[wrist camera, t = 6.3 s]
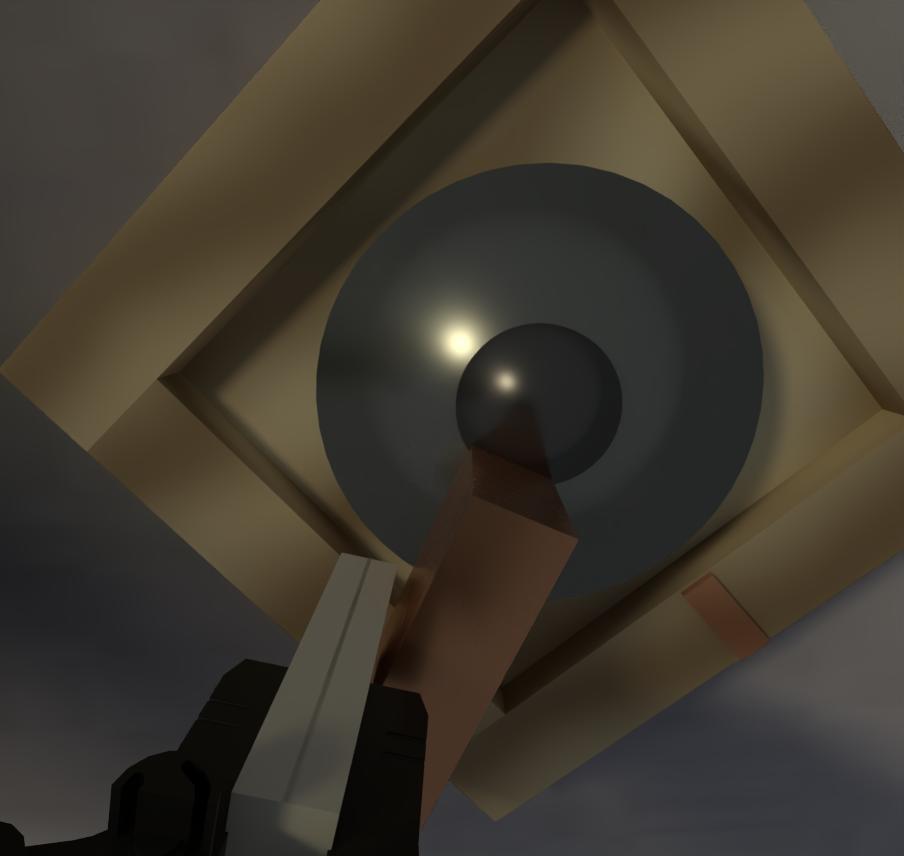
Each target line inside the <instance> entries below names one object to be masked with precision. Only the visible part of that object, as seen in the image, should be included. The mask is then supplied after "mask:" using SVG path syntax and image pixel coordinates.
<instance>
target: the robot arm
mask: <svg viewBox="0 0 904 856" xmlns="http://www.w3.org/2000/svg"><path fill="white" fill-rule="evenodd" d="M397 566H398V565H397V564H392V563H387V562H383V561H378V560H374V559H369V558H365V557H360V556H356V555H351V554H346V553H341V555H340V557H339V559H338V561H337V564H336V566H335V568H334V570H333V572H332V575H331V577H330V579H329V581H328V583H327V585H326V588H325V590H324V592H323V594H322V596H321V598H320V601H319V603H318V605H317V607H316V609H315V612H314V614H313V616H312V618H311V620H310V622H309V625H308V627H307V629H306V631H305V633H304V635H303V638H302V640H301V642H300V644H299V646H298V649H297V651H296V653H295V655H294V657H293V659H292V662H291V664H290V666H289V668H288V667H283V666H278V665H274V664H269V663H264V662H259V661H254V660H250V659H245V660H243V661H242V662H241V663H239V664H238V665H237V666H235V667H234V668H233V669H231V670H230V671H229V672H227V673H226V674H225V675H224V676H223V677H222V679H221V680H220V682H219V684H218V685H217V687H216V688H215V690H214V692H213V693H212V695H211V697H210V700H209V702H208V701H207V703H206V705H205V706H204V708H203V709H202V711H201V713H200V714H199V717H198V719H197V720H196V721H195V722H194V724H193V726H192V727H191V729H190V730H189V732H188V734H187V735H186V737H185V739H184V740H183V742H182V743H181V745H180V747H179V748H178V750H177V751H167V752H163V753H160V754H156V755H152V756H148V757H147V758H145V759H143V760H141V761H140V762H138V763H136V764H134V765H133V766H131V767H129V768H128V769H127V770H126V771H125V772H124V773H123V774H122V775H121V776H120V777H119V778H118V779H117V780H116V781H115V782H114V783H113V784H112V787H111V799H110V810H109V822H108V830H105V831H103V832H101V833H98V834H96V835H94V836H90V837H86V838H81V839H77V840H72V841H64V842H57V843H49V844H42V845H34V846H27V847H25V843H24V836H23V835H22V834H21V833H20V832H19V831H18V830H17V829H16V828H15V827H14V826H13V825H12V824H9V823H5V822H1V821H0V856H419V847H418V842H419V830H420V817H421V805H422V792H423V779H424V767H425V765H424V762H425V754H426V740H427V729H428V716H429V715H428V713H427V710H426V708H425V705H424V703H423V700H422V698H421V695H420V693H416V692H412V691H407V690H402V689H397V688H392V687H387V686H383V685H378V684H373V683H371V680H372V675H373V671H374V667H375V662H376V658H377V654H378V649H379V645H380V640H381V636H382V632H383V627H384V623H385V618H386V614H387V610H388V605H389V601H390V596H391V592H392V588H393V583H394V579H395V574H396V570H397Z"/></svg>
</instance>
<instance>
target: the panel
mask: <svg viewBox="0 0 904 856" xmlns="http://www.w3.org/2000/svg"><path fill="white" fill-rule="evenodd" d="M535 163H562V164H574V165H584V166H588V167H592V168H597V169H601V170H605V171H610V172H614V173H617V174H619V175H622V176H624V177H627V178H629V179H632V180H635V181H637V182H640V183H642V184H644V185H646V186H648V187H650V188H651V189H653V190H655V191H657V192H658V193H660V194H662V195H664V196H665V197H667V198H669V199H671V200H672V201H673V202H675V203H676V204H677V205H678V206H680V207H681V208H682V209H684V210H685V211H686V212H687V213H689V214H690V215H691V216H692V217H694V218H695V219H696V220H697V221H698V222H699V223H700V224H701V225H702V226H703V227H704V228H705V229H706V230H707V232H708V233H709V234H710V235H711V236H712V237H713V238H714V239H715V240H716V241H717V242H718V244H719V245H720V247H721V248H722V249H723V251H724V252H725V254H726V255H727V257H728V258H729V259H730V261H731V262H732V264H733V265H734V267H735V269H736V271H737V273H738V275H739V277H740V279H741V281H742V283H743V285H744V287H745V289H746V291H747V293H748V295H749V298H750V301H751V304H752V307H753V310H754V313H755V316H756V319H757V322H758V328H759V333H760V339H761V344H762V350H763V371H764V384H763V395H762V405H761V412H760V416H759V420H758V425H757V429H756V433H755V438H754V440H753V443H752V446H751V448H750V451H749V454H748V456H747V459H746V462H745V464H744V466H743V468H742V470H741V472H740V474H739V476H738V478H737V479H736V481H735V483H734V485H733V487H732V489H731V491H730V492H729V493H728V495H727V496H726V498H725V499H724V501H723V502H722V503H721V505H720V506H719V508H718V509H717V511H716V512H715V513H714V514H713V515H712V517H711V518H710V519H709V520H708V521H707V522H706V523H705V524H704V526H703V527H702V528H701V529H700V530H699V531H698V532H697V533H696V534H695V535H694V536H693V537H692V538H691V539H690V540H688V541H687V542H686V543H685V544H684V545H683V546H682V547H680V548H679V549H678V550H677V551H676V552H674V553H673V554H672V555H670V556H669V557H667V558H666V559H664V560H663V561H661V562H660V563H659V564H657V565H656V566H654V567H653V568H651V569H649V570H647V571H645V572H643V573H641V574H639V575H638V576H636V577H634V578H632V579H630V580H628V581H625V582H623V583H620V584H618V585H615V586H613V587H610V588H607V589H605V590H601V591H598V592H594V593H590V594H586V595H583V596H579V597H572V598H566V599H559V600H551V601H545V603H544V605H543V607H542V608H541V610H540V612H539V614H538V616H537V618H536V619H535V621H534V623H533V625H532V627H531V629H530V630H529V632H528V634H527V636H526V638H525V640H524V642H523V643H522V645H521V647H520V649H519V651H518V653H517V654H516V656H515V658H514V660H513V662H512V664H511V665H510V667H509V669H508V671H507V673H506V675H505V676H504V678H503V680H502V682H501V684H500V686H499V688H498V689H497V691H496V693H495V695H494V697H493V699H492V700H491V702H490V704H489V706H488V708H487V710H486V711H485V713H484V715H483V717H482V719H481V721H480V722H479V724H478V726H477V728H476V730H475V732H474V734H473V735H472V737H471V739H470V741H469V743H468V745H467V746H466V748H465V750H464V752H463V754H462V756H461V757H460V759H459V761H458V763H457V765H456V767H455V768H454V770H453V772H452V774H451V776H450V778H449V781H450V782H451V783H453V784H454V785H455V786H456V787H457V788H458V789H459V790H460V791H461V792H462V793H464V794H465V795H466V796H467V797H468V798H469V799H470V800H471V801H472V802H473V803H475V804H476V805H477V806H478V807H479V808H480V809H481V810H482V811H483V812H485V813H486V814H487V815H488V816H489V817H490V818H491V819H492V820H493V821H494V822H497V821H498V820H500V819H501V818H503V817H504V816H506V815H507V814H509V813H510V812H512V811H513V810H515V809H516V808H518V807H519V806H521V805H522V804H524V803H525V802H527V801H528V800H530V799H531V798H533V797H534V796H536V795H537V794H539V793H540V792H542V791H543V790H545V789H546V788H548V787H549V786H551V785H552V784H554V783H555V782H557V781H558V780H560V779H561V778H563V777H564V776H566V775H567V774H569V773H570V772H572V771H573V770H575V769H576V768H578V767H579V766H581V765H582V764H584V763H585V762H587V761H588V760H590V759H591V758H593V757H594V756H595V755H597V754H598V753H600V752H601V751H603V750H604V749H606V748H607V747H609V746H610V745H612V744H613V743H615V742H616V741H618V740H619V739H621V738H622V737H624V736H625V735H627V734H628V733H630V732H631V731H633V730H634V729H636V728H637V727H639V726H640V725H642V724H643V723H645V722H646V721H648V720H649V719H651V718H652V717H654V716H655V715H657V714H658V713H660V712H661V711H663V710H664V709H666V708H667V707H669V706H670V705H672V704H673V703H675V702H676V701H678V700H679V699H681V698H682V697H684V696H685V695H687V694H688V693H690V692H691V691H693V690H694V689H696V688H697V687H699V686H700V685H702V684H703V683H705V682H706V681H708V680H709V679H711V678H712V677H714V676H715V675H717V674H718V673H719V672H721V671H722V670H724V669H725V668H727V667H728V666H730V665H731V664H733V663H734V662H736V661H737V660H739V659H740V660H741V661H742V660H744V659H745V658H747V657H748V656H750V655H751V654H753V653H754V652H756V651H757V650H759V649H760V648H762V647H763V646H765V645H766V644H768V643H769V642H771V641H770V640H769V639H770V638H772V637H773V636H775V635H776V634H778V633H779V632H781V631H782V630H784V629H785V628H787V627H788V626H790V625H791V624H793V623H794V622H796V621H797V620H799V619H800V618H802V617H803V616H805V615H806V614H808V613H809V612H811V611H812V610H814V609H815V608H817V607H818V606H820V605H821V604H823V603H824V602H826V601H827V600H829V599H830V598H832V597H833V596H835V595H836V594H838V593H839V592H840V591H842V590H843V589H845V588H846V587H848V586H849V585H851V584H852V583H854V582H855V581H857V580H858V579H860V578H861V577H863V576H864V575H866V574H867V573H869V572H870V571H872V570H873V569H875V568H876V567H878V566H879V565H881V564H882V563H884V562H885V561H887V560H888V559H890V558H891V557H893V556H894V555H896V554H897V553H899V552H900V551H902V550H903V549H904V153H903V151H902V150H901V148H900V147H899V145H898V144H897V142H896V141H895V139H894V138H893V136H892V134H891V133H890V131H889V130H888V128H887V127H886V125H885V124H884V122H883V121H882V119H881V118H880V116H879V115H878V113H877V112H876V110H875V108H874V107H873V105H872V104H871V102H870V101H869V99H868V98H867V96H866V95H865V93H864V92H863V90H862V89H861V87H860V86H859V84H858V83H857V81H856V79H855V78H854V76H853V75H852V73H851V72H850V70H849V69H848V67H847V66H846V64H845V63H844V61H843V60H842V58H841V57H840V55H839V53H838V52H837V50H836V49H835V47H834V46H833V44H832V43H831V41H830V40H829V38H828V37H827V35H826V34H825V32H824V31H823V29H822V27H821V26H820V24H819V23H818V21H817V20H816V18H815V17H814V15H813V14H812V12H811V11H810V9H809V8H808V6H807V5H806V3H805V2H804V0H321V1H320V2H319V3H318V4H317V5H316V6H315V7H314V9H313V10H312V11H311V12H310V13H309V14H308V15H307V17H306V18H305V19H304V20H303V21H302V22H301V23H300V25H299V26H298V27H297V28H296V29H295V30H294V31H293V33H292V34H291V35H290V36H289V37H288V38H287V39H286V41H285V42H284V43H283V44H282V45H281V46H280V47H279V49H278V50H277V51H276V52H275V53H274V54H273V55H272V57H271V58H270V59H269V60H268V61H267V62H266V63H265V65H264V66H263V67H262V68H261V69H260V70H259V71H258V73H257V74H256V75H255V76H254V77H253V78H252V80H251V81H250V82H249V83H248V84H247V85H246V86H245V88H244V89H243V90H242V91H241V92H240V93H239V94H238V96H237V97H236V98H235V99H234V100H233V101H232V102H231V104H230V105H229V106H228V107H227V108H226V109H225V110H224V112H223V113H222V114H221V115H220V116H219V117H218V118H217V120H216V121H215V122H214V123H213V124H212V125H211V126H210V128H209V129H208V130H207V131H206V132H205V133H204V134H203V136H202V137H201V138H200V139H199V140H198V141H197V142H196V144H195V145H194V146H193V147H192V148H191V149H190V150H189V152H188V153H187V154H186V155H185V156H184V157H183V158H182V160H181V161H180V162H179V163H178V164H177V165H176V167H175V168H174V169H173V170H172V171H171V172H170V173H169V175H168V176H167V177H166V178H165V179H164V180H163V181H162V183H161V184H160V185H159V186H158V187H157V188H156V189H155V191H154V192H153V193H152V194H151V195H150V196H149V197H148V199H147V200H146V201H145V202H144V203H143V204H142V205H141V207H140V208H139V209H138V210H137V211H136V212H135V213H134V215H133V216H132V217H131V218H130V219H129V220H128V221H127V223H126V224H125V225H124V226H123V227H122V228H121V229H120V231H119V232H118V233H117V234H116V235H115V236H114V237H113V239H112V240H111V241H110V242H109V243H108V244H107V245H106V247H105V248H104V249H103V250H102V251H101V252H100V253H99V255H98V256H97V257H96V258H95V259H94V260H93V262H92V263H91V264H90V265H89V266H88V267H87V268H86V270H85V271H84V272H83V273H82V274H81V275H80V276H79V278H78V279H77V280H76V281H75V282H74V283H73V284H72V286H71V287H70V288H69V289H68V290H67V291H66V292H65V294H64V295H63V296H62V297H61V298H60V299H59V300H58V302H57V303H56V304H55V305H54V306H53V307H52V308H51V310H50V311H49V312H48V313H47V314H46V315H45V316H44V318H43V319H42V320H41V321H40V322H39V323H38V324H37V326H36V327H35V328H34V329H33V330H32V331H31V332H30V334H29V335H28V336H27V337H26V338H25V339H24V340H23V342H22V343H21V344H20V345H19V346H18V347H17V349H16V350H15V351H14V352H13V353H12V354H11V355H10V357H9V358H8V359H7V360H6V361H5V362H4V363H3V365H2V366H1V367H0V373H1V374H2V375H3V376H4V377H5V378H6V379H7V380H8V381H9V382H11V383H12V384H13V385H14V386H15V387H16V388H17V389H18V390H19V391H20V392H22V393H23V394H24V395H25V396H26V397H27V398H28V399H29V400H30V401H31V402H33V403H34V404H35V405H36V406H37V407H38V408H39V409H40V410H41V411H43V412H44V413H45V414H46V415H47V416H48V417H49V418H50V419H51V420H52V421H54V422H55V423H56V424H57V425H58V426H59V427H60V428H61V429H62V430H63V431H65V432H66V433H67V434H68V435H69V436H70V437H71V438H72V439H73V440H74V441H76V442H77V443H78V444H79V445H80V446H81V447H82V448H83V449H84V450H85V451H87V452H88V453H89V454H90V455H91V456H92V457H93V458H94V459H95V460H97V461H98V462H99V463H100V464H101V465H102V466H103V467H104V468H105V469H106V470H108V471H109V472H110V473H111V474H112V475H113V476H114V477H115V478H116V479H117V480H119V481H120V482H121V483H122V484H123V485H124V486H125V487H126V488H127V489H128V490H130V491H131V492H132V493H133V494H134V495H135V496H136V497H137V498H138V499H140V500H141V501H142V502H143V503H144V504H145V505H146V506H147V507H148V508H149V509H151V510H152V511H153V512H154V513H155V514H156V515H157V516H158V517H159V518H160V519H162V520H163V521H164V522H165V523H166V524H167V525H168V526H169V527H170V528H171V529H173V530H174V531H175V532H176V533H177V534H178V535H179V536H180V537H181V538H182V539H184V540H185V541H186V542H187V543H188V544H189V545H190V546H191V547H192V548H194V549H195V550H196V551H197V552H198V553H199V554H200V555H201V556H202V557H203V558H205V559H206V560H207V561H208V562H209V563H210V564H211V565H212V566H213V567H214V568H216V569H217V570H218V571H219V572H220V573H221V574H222V575H223V576H224V577H225V578H227V579H228V580H229V581H230V582H231V583H232V584H233V585H234V586H235V587H236V588H238V589H239V590H240V591H241V592H242V593H243V594H244V595H245V596H246V597H248V598H249V599H250V600H251V601H252V602H253V603H254V604H255V605H256V606H257V607H259V608H260V609H261V610H262V611H263V612H264V613H265V614H266V615H267V616H268V617H270V618H271V619H272V620H273V621H274V622H275V623H276V624H277V625H278V626H279V627H281V628H282V629H283V630H284V631H285V632H286V633H287V634H288V635H289V636H291V637H292V638H293V639H294V640H295V641H296V642H297V643H298V644H300V642H301V640H302V638H303V635H304V633H305V631H306V629H307V627H308V625H309V622H310V620H311V618H312V616H313V614H314V612H315V609H316V607H317V605H318V603H319V601H320V598H321V596H322V594H323V592H324V590H325V588H326V585H327V583H328V581H329V579H330V577H331V575H332V572H333V570H334V568H335V566H336V564H337V561H338V559H339V557H340V555H341V553H346V554H351V555H356V556H360V557H365V558H369V559H374V560H378V561H383V562H387V563H392V564H397V565H398V566H397V570H396V574H395V579H394V583H393V588H392V592H391V596H390V601H389V605H388V610H387V614H386V618H385V623H384V627H383V632H384V629H385V627H386V625H387V623H388V621H389V619H390V616H391V614H392V612H393V610H394V608H395V606H396V603H397V601H398V599H399V597H400V595H401V592H402V590H403V588H404V586H405V584H406V582H407V579H408V577H409V575H410V573H411V571H412V569H413V566H411V565H410V564H408V563H407V562H405V561H403V560H402V559H401V558H400V557H398V556H397V555H396V554H395V553H394V552H392V551H391V550H390V549H389V548H387V547H386V546H385V545H384V544H383V543H382V542H381V541H380V540H379V539H378V538H377V537H376V536H375V535H374V534H373V533H372V532H371V531H370V530H369V529H368V528H367V527H366V526H365V524H364V523H363V522H362V520H361V519H360V518H359V516H358V515H357V514H356V512H355V511H354V510H353V508H352V507H351V505H350V504H349V503H348V501H347V499H346V497H345V495H344V494H343V492H342V490H341V488H340V486H339V485H338V483H337V481H336V479H335V476H334V474H333V471H332V469H331V466H330V464H329V461H328V459H327V456H326V453H325V449H324V445H323V441H322V437H321V433H320V429H319V422H318V413H317V404H316V372H317V365H318V359H319V352H320V345H321V341H322V337H323V334H324V330H325V327H326V324H327V320H328V317H329V314H330V312H331V309H332V307H333V305H334V302H335V300H336V298H337V296H338V293H339V291H340V289H341V287H342V285H343V284H344V282H345V280H346V279H347V277H348V275H349V274H350V272H351V270H352V269H353V267H354V266H355V264H356V262H357V261H358V260H359V258H360V257H361V256H362V255H363V253H364V252H365V251H366V250H367V249H368V247H369V246H370V245H371V244H372V242H373V241H374V240H375V239H376V238H377V236H379V235H380V234H381V233H382V232H383V231H384V230H385V229H386V228H387V227H388V226H389V225H390V224H391V223H392V222H394V221H395V220H396V219H397V218H398V217H399V216H400V215H401V214H403V213H404V212H406V211H407V210H408V209H410V208H411V207H413V206H414V205H415V204H417V203H418V202H420V201H421V200H423V199H424V198H425V197H427V196H429V195H431V194H433V193H435V192H437V191H438V190H440V189H442V188H444V187H446V186H448V185H450V184H452V183H454V182H456V181H459V180H462V179H465V178H467V177H470V176H473V175H476V174H479V173H482V172H484V171H488V170H493V169H498V168H503V167H508V166H513V165H518V164H535ZM383 632H382V634H383Z"/></svg>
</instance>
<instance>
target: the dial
mask: <svg viewBox="0 0 904 856" xmlns="http://www.w3.org/2000/svg"><path fill="white" fill-rule="evenodd" d="M763 384H764V371H763V350H762V344H761V339H760V333H759V328H758V322H757V319H756V316H755V313H754V310H753V307H752V304H751V301H750V298H749V295H748V293H747V291H746V289H745V287H744V285H743V283H742V281H741V279H740V277H739V275H738V273H737V271H736V269H735V267H734V265H733V264H732V262H731V261H730V259H729V258H728V257H727V255H726V254H725V252H724V251H723V249H722V248H721V247H720V245H719V244H718V242H717V241H716V240H715V239H714V238H713V237H712V236H711V235H710V234H709V233H708V232H707V230H706V229H705V228H704V227H703V226H702V225H701V224H700V223H699V222H698V221H697V220H696V219H695V218H694V217H692V216H691V215H690V214H689V213H687V212H686V211H685V210H684V209H682V208H681V207H680V206H678V205H677V204H676V203H675V202H673V201H672V200H671V199H669V198H667V197H665V196H664V195H662V194H660V193H658V192H657V191H655V190H653V189H651V188H650V187H648V186H646V185H644V184H642V183H640V182H637V181H635V180H632V179H629V178H627V177H624V176H622V175H619V174H617V173H614V172H610V171H605V170H601V169H597V168H592V167H588V166H584V165H574V164H562V163H535V164H518V165H513V166H508V167H503V168H498V169H493V170H488V171H484V172H482V173H479V174H476V175H473V176H470V177H467V178H465V179H462V180H459V181H456V182H454V183H452V184H450V185H448V186H446V187H444V188H442V189H440V190H438V191H437V192H435V193H433V194H431V195H429V196H427V197H425V198H424V199H423V200H421V201H420V202H418V203H417V204H415V205H414V206H413V207H411V208H410V209H408V210H407V211H406V212H404V213H403V214H401V215H400V216H399V217H398V218H397V219H396V220H395V221H394V222H392V223H391V224H390V225H389V226H388V227H387V228H386V229H385V230H384V231H383V232H382V233H381V234H380V235H379V236H377V238H376V239H375V240H374V241H373V242H372V244H371V245H370V246H369V247H368V249H367V250H366V251H365V252H364V253H363V255H362V256H361V257H360V258H359V260H358V261H357V262H356V264H355V266H354V267H353V269H352V270H351V272H350V274H349V275H348V277H347V279H346V280H345V282H344V284H343V285H342V287H341V289H340V291H339V293H338V296H337V298H336V300H335V302H334V305H333V307H332V309H331V312H330V314H329V317H328V320H327V324H326V327H325V330H324V334H323V337H322V341H321V345H320V352H319V359H318V365H317V372H316V404H317V413H318V422H319V429H320V433H321V437H322V441H323V445H324V449H325V453H326V456H327V459H328V461H329V464H330V466H331V469H332V471H333V474H334V476H335V479H336V481H337V483H338V485H339V486H340V488H341V490H342V492H343V494H344V495H345V497H346V499H347V501H348V503H349V504H350V505H351V507H352V508H353V510H354V511H355V512H356V514H357V515H358V516H359V518H360V519H361V520H362V522H363V523H364V524H365V526H366V527H367V528H368V529H369V530H370V531H371V532H372V533H373V534H374V535H375V536H376V537H377V538H378V539H379V540H380V541H381V542H382V543H383V544H384V545H385V546H386V547H387V548H389V549H390V550H391V551H392V552H394V553H395V554H396V555H397V556H398V557H400V558H401V559H402V560H403V561H405V562H407V563H408V564H410V565H411V566H413V569H412V571H411V573H410V575H409V577H408V579H407V582H406V584H405V586H404V588H403V590H402V592H401V595H400V597H399V599H398V601H397V603H396V606H395V608H394V610H393V612H392V614H391V616H390V619H389V621H388V623H387V625H386V627H385V629H384V632H383V634H382V636H381V640H380V645H379V649H378V654H377V658H376V662H375V667H374V671H373V675H372V680H371V683H373V684H378V685H383V686H387V687H392V688H397V689H402V690H407V691H412V692H416V693H420V695H421V698H422V700H423V703H424V705H425V708H426V710H427V713H428V715H429V716H428V729H427V740H426V754H425V762H424V765H425V767H424V779H423V792H422V805H421V817H420V830H419V833H420V831H421V829H422V827H423V826H424V824H425V822H426V820H427V818H428V816H429V814H430V813H431V811H432V809H433V807H434V805H435V803H436V802H437V800H438V798H439V796H440V794H441V792H442V791H443V789H444V787H445V785H446V783H447V781H448V780H449V778H450V776H451V774H452V772H453V770H454V768H455V767H456V765H457V763H458V761H459V759H460V757H461V756H462V754H463V752H464V750H465V748H466V746H467V745H468V743H469V741H470V739H471V737H472V735H473V734H474V732H475V730H476V728H477V726H478V724H479V722H480V721H481V719H482V717H483V715H484V713H485V711H486V710H487V708H488V706H489V704H490V702H491V700H492V699H493V697H494V695H495V693H496V691H497V689H498V688H499V686H500V684H501V682H502V680H503V678H504V676H505V675H506V673H507V671H508V669H509V667H510V665H511V664H512V662H513V660H514V658H515V656H516V654H517V653H518V651H519V649H520V647H521V645H522V643H523V642H524V640H525V638H526V636H527V634H528V632H529V630H530V629H531V627H532V625H533V623H534V621H535V619H536V618H537V616H538V614H539V612H540V610H541V608H542V607H543V605H544V603H545V601H551V600H559V599H566V598H572V597H579V596H583V595H586V594H590V593H594V592H598V591H601V590H605V589H607V588H610V587H613V586H615V585H618V584H620V583H623V582H625V581H628V580H630V579H632V578H634V577H636V576H638V575H639V574H641V573H643V572H645V571H647V570H649V569H651V568H653V567H654V566H656V565H657V564H659V563H660V562H661V561H663V560H664V559H666V558H667V557H669V556H670V555H672V554H673V553H674V552H676V551H677V550H678V549H679V548H680V547H682V546H683V545H684V544H685V543H686V542H687V541H688V540H690V539H691V538H692V537H693V536H694V535H695V534H696V533H697V532H698V531H699V530H700V529H701V528H702V527H703V526H704V524H705V523H706V522H707V521H708V520H709V519H710V518H711V517H712V515H713V514H714V513H715V512H716V511H717V509H718V508H719V506H720V505H721V503H722V502H723V501H724V499H725V498H726V496H727V495H728V493H729V492H730V491H731V489H732V487H733V485H734V483H735V481H736V479H737V478H738V476H739V474H740V472H741V470H742V468H743V466H744V464H745V462H746V459H747V456H748V454H749V451H750V448H751V446H752V443H753V440H754V438H755V433H756V429H757V425H758V420H759V416H760V412H761V405H762V395H763Z"/></svg>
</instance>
